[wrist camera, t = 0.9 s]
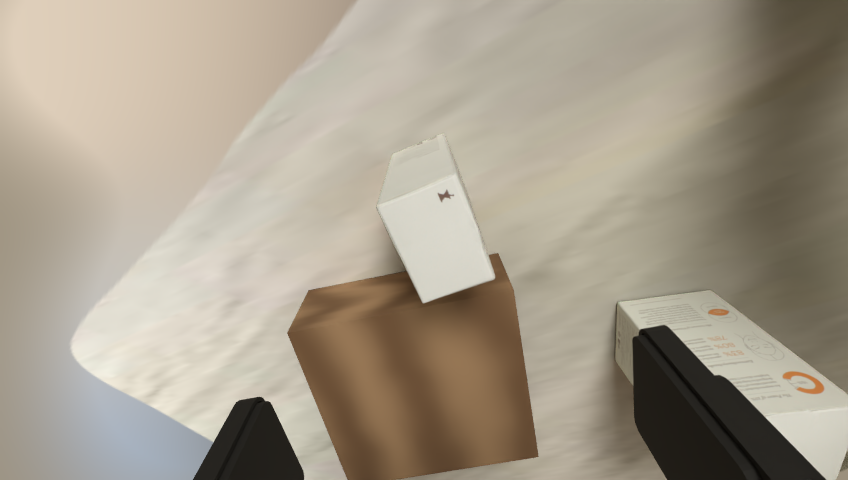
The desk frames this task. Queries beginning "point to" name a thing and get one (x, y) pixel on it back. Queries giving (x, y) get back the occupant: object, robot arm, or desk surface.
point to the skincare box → (433, 221)
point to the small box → (748, 369)
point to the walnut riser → (416, 375)
